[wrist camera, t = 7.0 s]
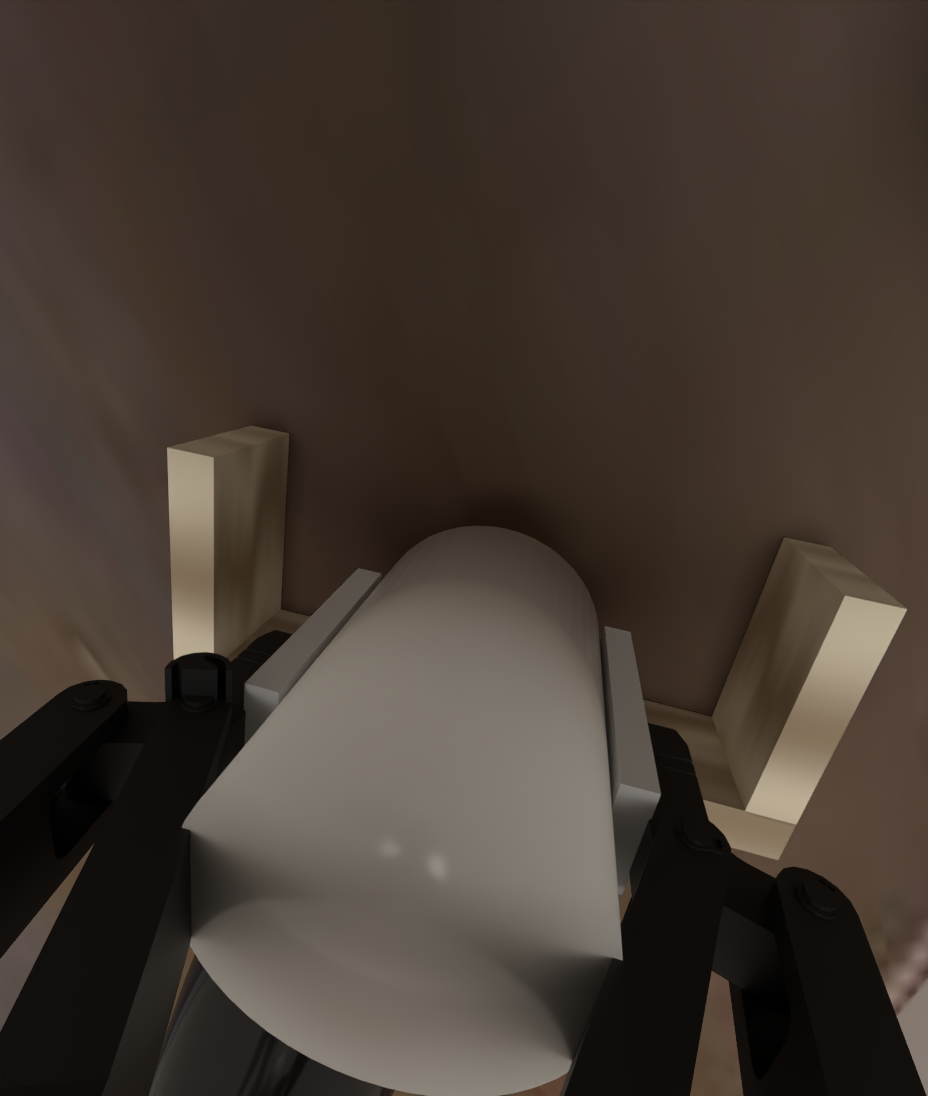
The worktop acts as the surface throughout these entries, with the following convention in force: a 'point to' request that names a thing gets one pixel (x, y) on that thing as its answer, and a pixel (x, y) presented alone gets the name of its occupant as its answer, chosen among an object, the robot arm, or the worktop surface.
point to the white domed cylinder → (425, 832)
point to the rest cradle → (714, 742)
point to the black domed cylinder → (237, 1053)
